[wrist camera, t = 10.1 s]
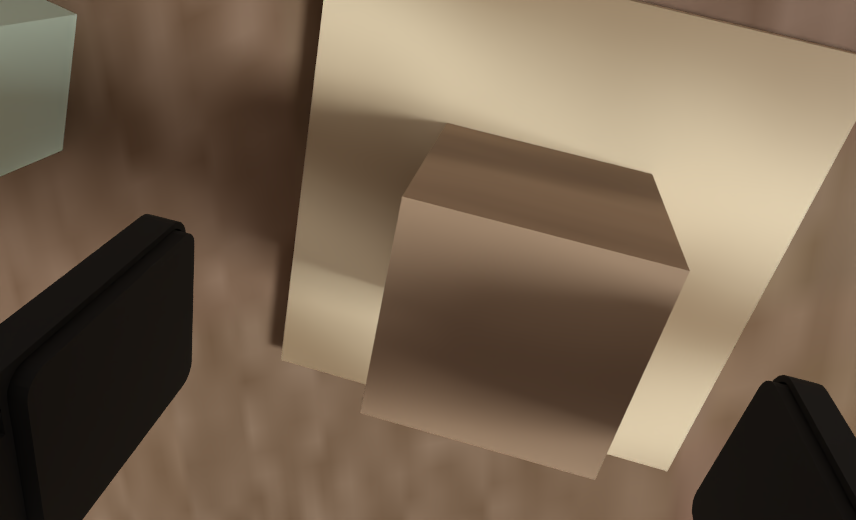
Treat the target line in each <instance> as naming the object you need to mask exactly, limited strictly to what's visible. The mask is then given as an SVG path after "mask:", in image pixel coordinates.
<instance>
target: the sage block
mask: <svg viewBox="0 0 856 520" xmlns="http://www.w3.org/2000/svg"><path fill="white" fill-rule="evenodd" d="M76 20H77V14H75V13H73V12H71V11H69V10H66V9H64V8H62V7H60V6H58V5H55V4H53V3H51V2H49V1H46V0H0V176H3V175H5V174H7V173H10V172H12V171H15V170H17V169H19V168H22V167H24V166H26V165H29V164H31V163H33V162H36V161H38V160H41V159H43V158H45V157H48V156H50V155H52V154H55V153H57V152H59V151H62V150H63V141H64V131H65V122H66V113H67V104H68V94H69V85H70V76H71V66H72V57H73V48H74V38H75V29H76Z"/></svg>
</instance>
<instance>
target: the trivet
mask: <svg viewBox="0 0 856 520" xmlns="http://www.w3.org/2000/svg"><path fill="white" fill-rule="evenodd" d="M855 121H856V53H855V52H851V51H847V50H842V49H838V48H834V47H830V46H826V45H822V44H817V43H813V42H809V41H805V40H801V39H796V38H792V37H788V36H784V35H780V34H776V33H771V32H767V31H763V30H759V29H755V28H750V27H746V26H742V25H738V24H734V23H730V22H725V21H721V20H717V19H713V18H709V17H705V16H700V15H696V14H692V13H688V12H684V11H679V10H675V9H671V8H667V7H663V6H659V5H654V4H650V3H646V2H642V1H638V0H324V1H323V10H322V18H321V26H320V35H319V43H318V52H317V60H316V69H315V77H314V86H313V94H312V102H311V111H310V119H309V128H308V136H307V145H306V153H305V162H304V170H303V178H302V187H301V195H300V204H299V212H298V221H297V229H296V238H295V246H294V254H293V263H292V271H291V280H290V288H289V297H288V305H287V314H286V322H285V330H284V339H283V347H282V356H281V360H283V361H286V362H290V363H293V364H296V365H300V366H303V367H307V368H310V369H314V370H317V371H321V372H324V373H328V374H331V375H335V376H338V377H342V378H345V379H349V380H352V381H356V382H359V383H363V384H366V380H367V375H368V370H369V365H370V360H371V355H372V349H373V344H374V339H375V334H376V329H377V324H378V319H379V313H380V308H381V303H382V298H383V293H384V288H385V282H386V277H387V272H388V267H389V262H390V257H391V251H392V246H393V241H394V236H395V231H396V226H397V220H398V215H399V210H400V205H401V200H402V196H403V194H404V193H405V191H406V189H407V188H408V186H409V184H410V183H411V181H412V179H413V178H414V176H415V174H416V173H417V171H418V170H419V168H420V166H421V165H422V163H423V161H424V160H425V158H426V156H427V155H428V153H429V151H430V150H431V148H432V147H433V145H434V143H435V142H436V140H437V138H438V137H439V135H440V133H441V132H442V130H443V129H444V127H445V125H446V124H447V123H450V124H454V125H458V126H462V127H466V128H470V129H474V130H478V131H482V132H486V133H490V134H494V135H498V136H502V137H506V138H510V139H514V140H518V141H522V142H526V143H530V144H534V145H538V146H542V147H546V148H550V149H554V150H558V151H562V152H566V153H570V154H574V155H578V156H582V157H586V158H590V159H594V160H598V161H602V162H606V163H610V164H614V165H618V166H622V167H626V168H630V169H634V170H638V171H642V172H646V173H650V174H652V175H653V177H654V180H655V182H656V185H657V188H658V190H659V193H660V195H661V198H662V200H663V203H664V206H665V208H666V211H667V213H668V216H669V218H670V221H671V224H672V226H673V229H674V231H675V234H676V236H677V239H678V242H679V244H680V247H681V249H682V252H683V254H684V257H685V260H686V262H687V265H688V267H689V270H690V272H689V274H688V276H687V279H686V281H685V283H684V285H683V287H682V290H681V292H680V294H679V296H678V298H677V301H676V303H675V305H674V307H673V309H672V312H671V314H670V316H669V318H668V320H667V323H666V325H665V327H664V329H663V331H662V334H661V336H660V338H659V340H658V342H657V345H656V347H655V349H654V351H653V353H652V356H651V358H650V360H649V362H648V364H647V367H646V369H645V371H644V373H643V375H642V378H641V380H640V382H639V384H638V386H637V389H636V391H635V393H634V395H633V397H632V400H631V402H630V404H629V406H628V408H627V411H626V413H625V415H624V417H623V419H622V422H621V424H620V426H619V428H618V430H617V433H616V435H615V437H614V439H613V441H612V444H611V446H610V448H609V450H608V452H607V454H609V455H613V456H616V457H620V458H623V459H627V460H630V461H634V462H637V463H641V464H644V465H648V466H651V467H655V468H658V469H661V470H665V471H668V469H669V467H670V465H671V463H672V461H673V460H674V458H675V456H676V454H677V452H678V450H679V448H680V447H681V445H682V443H683V441H684V439H685V437H686V435H687V434H688V432H689V430H690V428H691V426H692V424H693V422H694V420H695V419H696V417H697V415H698V413H699V411H700V409H701V407H702V406H703V404H704V402H705V400H706V398H707V396H708V394H709V393H710V391H711V389H712V387H713V385H714V383H715V381H716V380H717V378H718V376H719V374H720V372H721V370H722V368H723V367H724V365H725V363H726V361H727V359H728V357H729V355H730V354H731V352H732V350H733V348H734V346H735V344H736V342H737V341H738V339H739V337H740V335H741V333H742V331H743V329H744V327H745V326H746V324H747V322H748V320H749V318H750V316H751V314H752V313H753V311H754V309H755V307H756V305H757V303H758V301H759V300H760V298H761V296H762V294H763V292H764V290H765V288H766V287H767V285H768V283H769V281H770V279H771V277H772V275H773V274H774V272H775V270H776V268H777V266H778V264H779V262H780V261H781V259H782V257H783V255H784V253H785V251H786V249H787V247H788V246H789V244H790V242H791V240H792V238H793V236H794V234H795V233H796V231H797V229H798V227H799V225H800V223H801V221H802V220H803V218H804V216H805V214H806V212H807V210H808V208H809V207H810V205H811V203H812V201H813V199H814V197H815V195H816V194H817V192H818V190H819V188H820V186H821V184H822V182H823V181H824V179H825V177H826V175H827V173H828V171H829V169H830V168H831V166H832V164H833V162H834V160H835V158H836V156H837V154H838V153H839V151H840V149H841V147H842V145H843V143H844V141H845V140H846V138H847V136H848V134H849V132H850V130H851V128H852V127H853V125H854V123H855Z"/></svg>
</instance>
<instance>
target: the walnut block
mask: <svg viewBox="0 0 856 520" xmlns="http://www.w3.org/2000/svg"><path fill="white" fill-rule="evenodd" d="M689 272H690V270H689V267H688V265H687V262H686V260H685V257H684V254H683V252H682V249H681V247H680V244H679V242H678V239H677V236H676V234H675V231H674V229H673V226H672V224H671V221H670V218H669V216H668V213H667V211H666V208H665V206H664V203H663V200H662V198H661V195H660V193H659V190H658V188H657V185H656V182H655V180H654V177H653V175H652V174H650V173H646V172H642V171H638V170H634V169H630V168H626V167H622V166H618V165H614V164H610V163H606V162H602V161H598V160H594V159H590V158H586V157H582V156H578V155H574V154H570V153H566V152H562V151H558V150H554V149H550V148H546V147H542V146H538V145H534V144H530V143H526V142H522V141H518V140H514V139H510V138H506V137H502V136H498V135H494V134H490V133H486V132H482V131H478V130H474V129H470V128H466V127H462V126H458V125H454V124H450V123H447V124H446V125H445V127H444V129H443V130H442V132H441V133H440V135H439V137H438V138H437V140H436V142H435V143H434V145H433V147H432V148H431V150H430V151H429V153H428V155H427V156H426V158H425V160H424V161H423V163H422V165H421V166H420V168H419V170H418V171H417V173H416V174H415V176H414V178H413V179H412V181H411V183H410V184H409V186H408V188H407V189H406V191H405V193H404V194H403V196H402V200H401V205H400V210H399V215H398V220H397V226H396V231H395V236H394V241H393V246H392V251H391V257H390V262H389V267H388V272H387V277H386V282H385V288H384V293H383V298H382V303H381V308H380V313H379V319H378V324H377V329H376V334H375V339H374V344H373V349H372V355H371V360H370V365H369V370H368V375H367V380H366V386H365V391H364V396H363V401H362V406H361V411H360V413H362V414H365V415H369V416H372V417H376V418H379V419H383V420H386V421H390V422H393V423H397V424H400V425H404V426H407V427H411V428H414V429H418V430H421V431H425V432H428V433H432V434H435V435H439V436H442V437H446V438H450V439H453V440H457V441H460V442H464V443H467V444H471V445H474V446H478V447H481V448H485V449H488V450H492V451H495V452H499V453H502V454H506V455H509V456H513V457H516V458H520V459H523V460H527V461H530V462H534V463H537V464H541V465H544V466H548V467H551V468H555V469H558V470H562V471H565V472H569V473H572V474H576V475H579V476H583V477H586V478H590V479H593V480H595V479H596V477H597V474H598V472H599V470H600V468H601V466H602V463H603V461H604V459H605V457H606V455H607V452H608V450H609V448H610V446H611V444H612V441H613V439H614V437H615V435H616V433H617V430H618V428H619V426H620V424H621V422H622V419H623V417H624V415H625V413H626V411H627V408H628V406H629V404H630V402H631V400H632V397H633V395H634V393H635V391H636V389H637V386H638V384H639V382H640V380H641V378H642V375H643V373H644V371H645V369H646V367H647V364H648V362H649V360H650V358H651V356H652V353H653V351H654V349H655V347H656V345H657V342H658V340H659V338H660V336H661V334H662V331H663V329H664V327H665V325H666V323H667V320H668V318H669V316H670V314H671V312H672V309H673V307H674V305H675V303H676V301H677V298H678V296H679V294H680V292H681V290H682V287H683V285H684V283H685V281H686V279H687V276H688V274H689Z"/></svg>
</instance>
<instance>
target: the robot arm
mask: <svg viewBox="0 0 856 520" xmlns="http://www.w3.org/2000/svg"><path fill="white" fill-rule="evenodd" d="M193 279H194V238H193V236H192V235H191V234H189V233H186V232H185V227H184V225H183V224H182V223H181V222H178V221H174V220H170V219H166V218H162V217H158V216H154V215H150V214H145V215H143V216H141V217H140V218H138V219H137V220H136V221H134V222H133V223H132V224H130V225H129V226H128V227H126V228H125V229H124V230H123V231H121V232H120V233H119V234H117V235H116V236H115V237H113V238H112V239H111V240H109V241H108V242H107V243H106V244H104V245H103V246H102V247H100V248H99V249H98V250H96V251H95V252H94V253H92V254H91V255H90V256H89V257H87V258H86V259H85V260H83V261H82V262H81V263H79V264H78V265H77V266H75V267H74V268H73V269H71V270H70V271H69V272H68V273H66V274H65V275H64V276H62V277H61V278H60V279H58V280H57V281H56V282H54V283H53V284H52V285H51V286H49V287H48V288H47V289H45V290H44V291H43V292H41V293H40V294H39V295H37V296H36V297H35V298H34V299H32V300H31V301H30V302H28V303H27V304H26V305H24V306H23V307H22V308H20V309H19V310H18V311H16V312H15V313H14V314H13V315H11V316H10V317H9V318H7V319H6V320H5V321H3V322H2V323H1V324H0V520H82V519H83V518H84V517H85V515H86V514H87V513H88V511H89V510H90V509H91V507H92V506H93V505H94V503H95V502H96V501H97V499H98V498H99V497H100V495H101V494H102V493H103V491H104V490H105V489H106V487H107V486H108V485H109V483H110V482H111V481H112V479H113V478H114V477H115V475H116V474H117V473H118V471H119V470H120V469H121V467H122V466H123V465H124V463H125V462H126V461H127V459H128V458H129V457H130V455H131V454H132V453H133V451H134V450H135V449H136V447H137V446H138V445H139V443H140V442H141V441H142V439H143V438H144V437H145V435H146V434H147V433H148V431H149V430H150V429H151V427H152V426H153V425H154V423H155V422H156V421H157V419H158V418H159V417H160V415H161V414H162V413H163V411H164V410H165V409H166V407H167V406H168V405H169V403H170V402H171V401H172V399H173V398H174V397H175V395H176V394H177V393H178V391H179V390H180V389H181V387H182V386H183V385H184V383H185V381H186V379H187V377H188V375H189V372H190V368H191V362H192V323H193ZM692 515H693V520H856V438H855V436H854V434H853V433H852V431H851V429H850V428H849V426H848V424H847V423H846V421H845V420H844V418H843V416H842V415H841V413H840V411H839V410H838V408H837V406H836V405H835V403H834V402H833V400H832V398H831V397H830V395H829V393H828V392H827V390H826V389H825V388H824V387H823V386H822V385H820V384H817V383H813V382H809V381H806V380H802V379H798V378H794V377H790V376H786V375H781V376H778V377H777V378H775V379H774V380H773V382H772V381H765V382H764V383H762V385H761V386H760V387H759V389H758V390H757V392H756V394H755V395H754V397H753V399H752V400H751V402H750V404H749V405H748V407H747V409H746V410H745V412H744V414H743V415H742V417H741V419H740V420H739V422H738V424H737V425H736V427H735V429H734V430H733V432H732V434H731V435H730V437H729V439H728V440H727V442H726V444H725V445H724V447H723V449H722V450H721V452H720V454H719V455H718V457H717V459H716V460H715V462H714V464H713V465H712V467H711V469H710V470H709V472H708V474H707V475H706V477H705V479H704V480H703V482H702V484H701V485H700V487H699V489H698V490H697V492H696V494H695V496H694V500H693V505H692Z"/></svg>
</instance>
